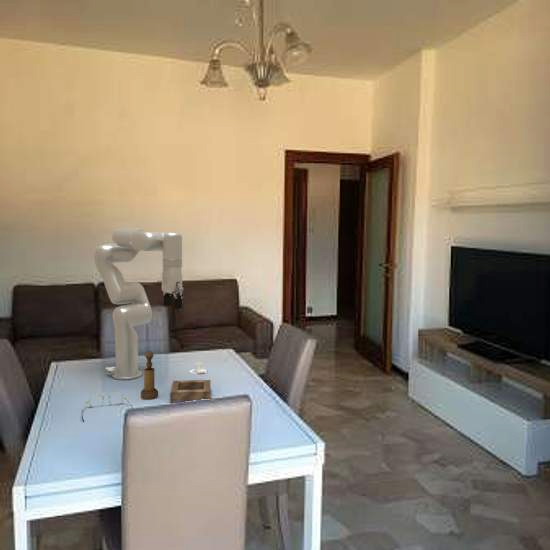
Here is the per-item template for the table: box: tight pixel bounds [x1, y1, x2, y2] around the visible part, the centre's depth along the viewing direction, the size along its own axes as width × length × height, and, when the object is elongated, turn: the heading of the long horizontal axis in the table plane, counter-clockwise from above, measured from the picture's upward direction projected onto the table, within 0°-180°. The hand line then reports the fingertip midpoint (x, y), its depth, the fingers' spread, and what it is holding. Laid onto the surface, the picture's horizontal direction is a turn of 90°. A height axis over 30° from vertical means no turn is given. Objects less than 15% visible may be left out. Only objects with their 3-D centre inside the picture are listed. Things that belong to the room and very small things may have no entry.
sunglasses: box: [81, 392, 134, 423], centre depth 184 cm, size 17×15×5 cm
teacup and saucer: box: [189, 362, 208, 375], centre depth 237 cm, size 9×8×4 cm
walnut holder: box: [169, 379, 211, 404], centre depth 203 cm, size 15×15×4 cm
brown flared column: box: [140, 350, 159, 401], centre depth 200 cm, size 7×6×18 cm
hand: (172, 307), depth 205 cm, fingers open, 9 cm apart
